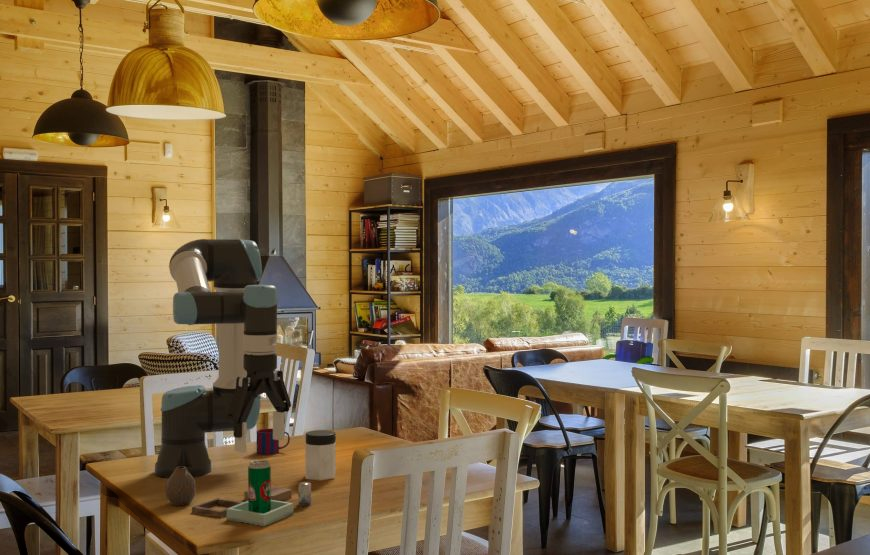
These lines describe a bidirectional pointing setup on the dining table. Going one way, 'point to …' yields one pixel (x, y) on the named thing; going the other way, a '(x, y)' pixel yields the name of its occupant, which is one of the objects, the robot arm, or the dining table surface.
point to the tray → (276, 513)
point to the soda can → (259, 486)
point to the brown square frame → (204, 506)
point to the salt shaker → (304, 494)
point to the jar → (320, 455)
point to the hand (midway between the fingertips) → (260, 445)
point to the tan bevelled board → (276, 494)
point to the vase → (180, 487)
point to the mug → (268, 442)
